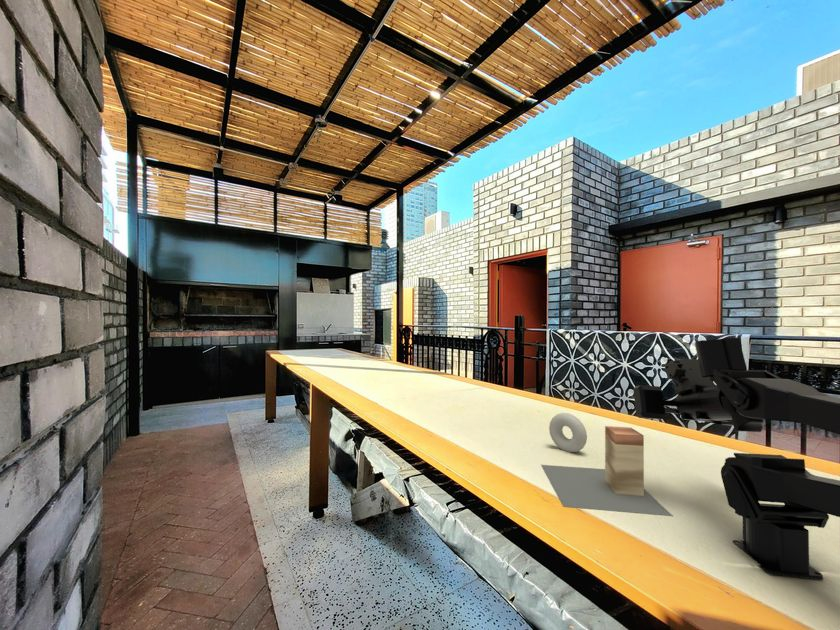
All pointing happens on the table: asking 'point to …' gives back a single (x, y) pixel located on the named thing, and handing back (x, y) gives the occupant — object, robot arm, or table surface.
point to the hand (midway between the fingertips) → (662, 407)
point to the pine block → (624, 460)
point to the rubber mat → (597, 492)
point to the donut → (576, 427)
